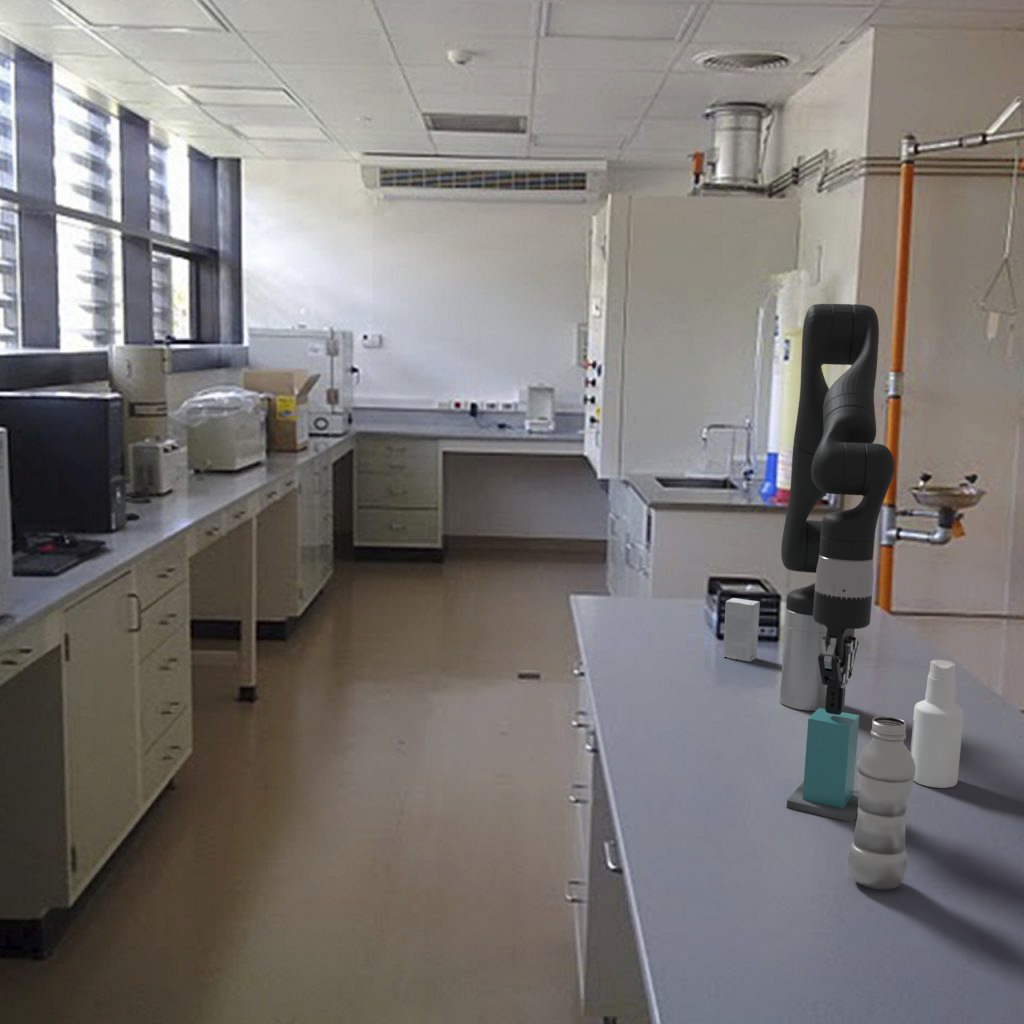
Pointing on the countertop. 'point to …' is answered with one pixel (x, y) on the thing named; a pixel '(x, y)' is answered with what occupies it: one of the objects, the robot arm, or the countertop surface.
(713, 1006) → the countertop surface
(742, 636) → the skincare box
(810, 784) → the teal pillar
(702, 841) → the countertop surface
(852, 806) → the post
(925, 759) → the spray bottle
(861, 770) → the plastic bottle
